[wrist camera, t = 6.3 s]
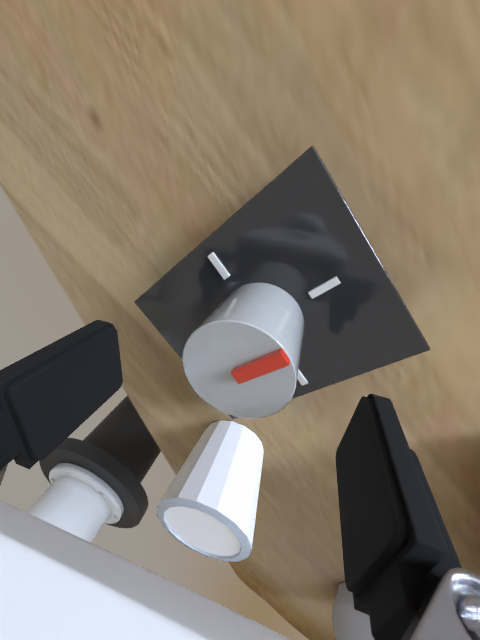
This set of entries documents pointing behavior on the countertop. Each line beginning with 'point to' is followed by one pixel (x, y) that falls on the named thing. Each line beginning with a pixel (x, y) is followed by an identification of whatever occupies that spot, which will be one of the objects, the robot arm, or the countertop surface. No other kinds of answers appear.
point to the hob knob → (247, 352)
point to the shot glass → (216, 493)
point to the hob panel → (295, 278)
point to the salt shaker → (349, 618)
